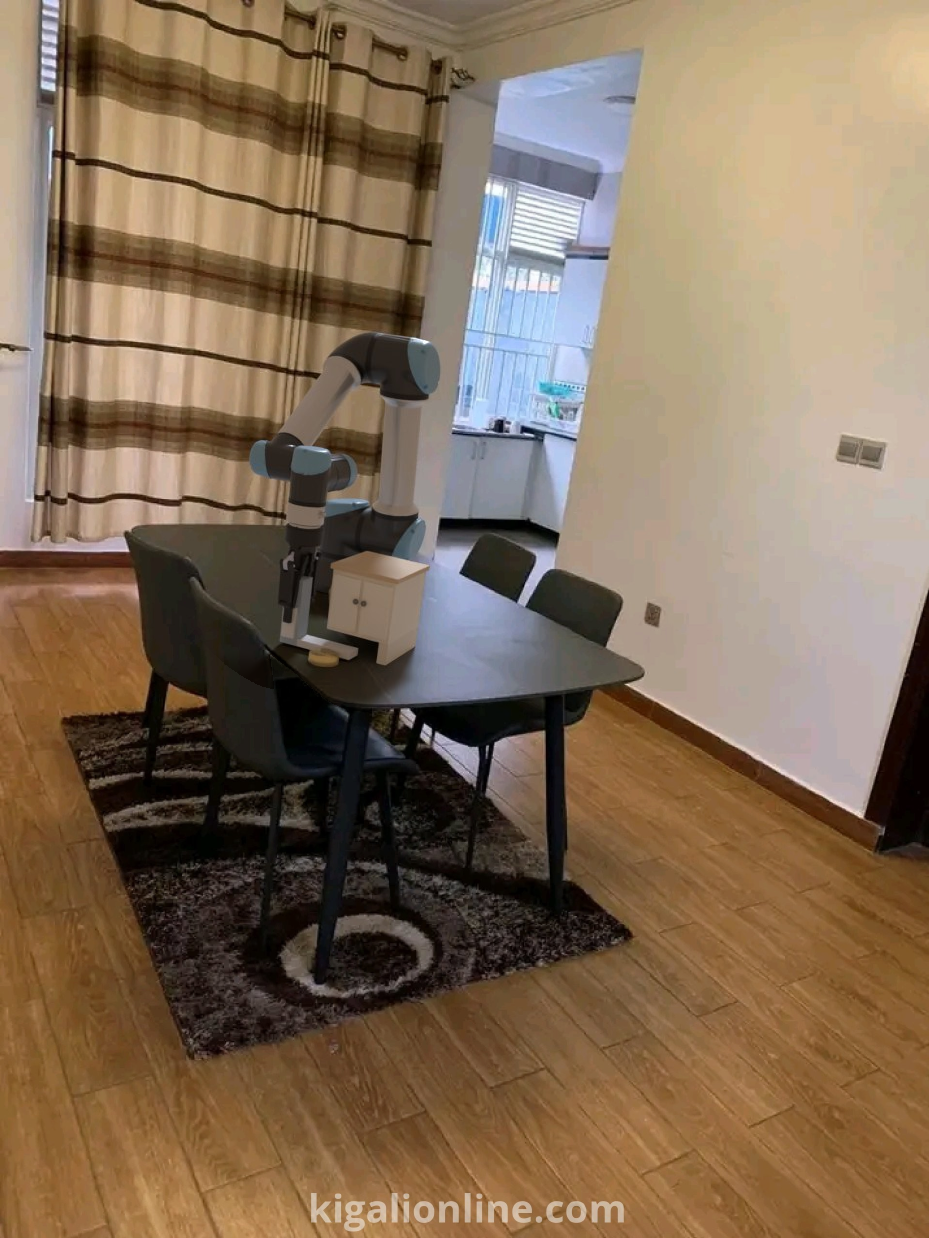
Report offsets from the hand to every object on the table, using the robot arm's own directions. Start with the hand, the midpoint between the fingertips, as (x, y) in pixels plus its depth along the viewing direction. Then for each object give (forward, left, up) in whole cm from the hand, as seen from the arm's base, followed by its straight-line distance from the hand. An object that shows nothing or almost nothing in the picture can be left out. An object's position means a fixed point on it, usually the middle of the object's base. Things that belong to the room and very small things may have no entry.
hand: (293, 633), depth 194 cm
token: (+10, -5, -2) cm, 11 cm away
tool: (+6, 0, -2) cm, 6 cm away
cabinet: (+14, +10, -2) cm, 17 cm away
